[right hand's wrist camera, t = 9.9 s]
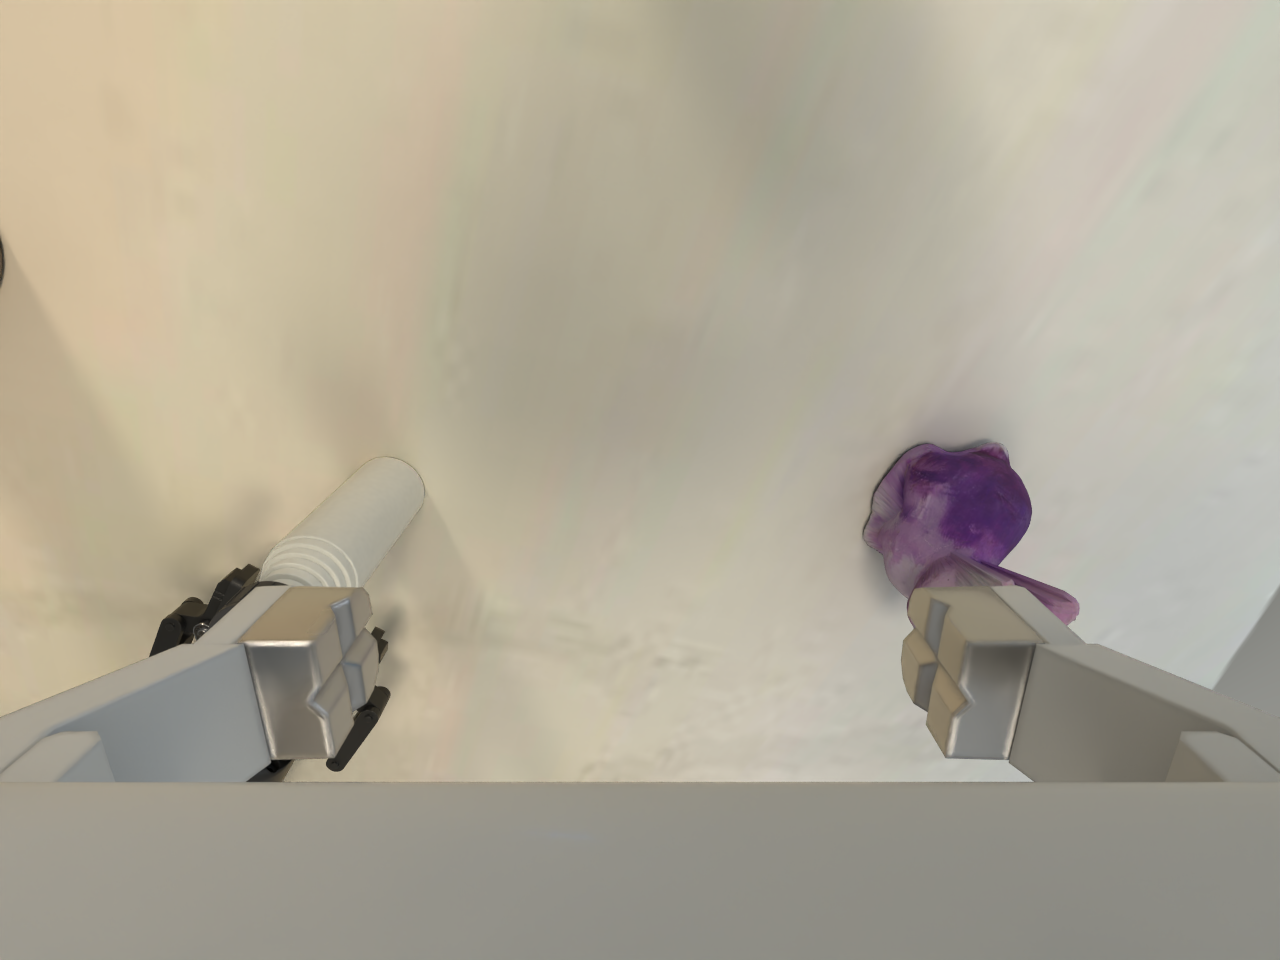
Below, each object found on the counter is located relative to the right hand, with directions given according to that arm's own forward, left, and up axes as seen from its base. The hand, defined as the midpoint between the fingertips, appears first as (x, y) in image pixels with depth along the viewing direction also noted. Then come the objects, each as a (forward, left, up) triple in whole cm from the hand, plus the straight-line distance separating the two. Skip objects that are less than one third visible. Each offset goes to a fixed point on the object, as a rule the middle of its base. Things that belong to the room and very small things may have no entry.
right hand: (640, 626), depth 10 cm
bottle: (-7, -19, -35) cm, 40 cm away
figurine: (+24, +1, -35) cm, 42 cm away
